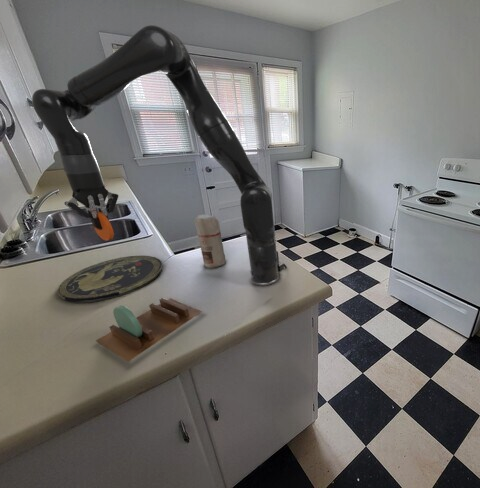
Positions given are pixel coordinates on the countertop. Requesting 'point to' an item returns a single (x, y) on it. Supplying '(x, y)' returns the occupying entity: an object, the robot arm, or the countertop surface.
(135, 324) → the green disc
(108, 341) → the rack
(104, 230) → the orange disc
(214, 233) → the spray can
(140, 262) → the decorative plate
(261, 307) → the countertop surface
